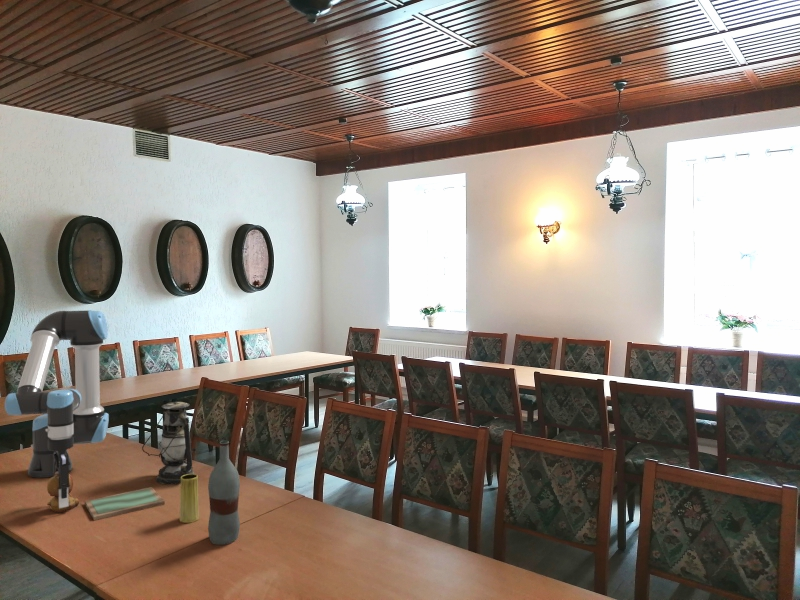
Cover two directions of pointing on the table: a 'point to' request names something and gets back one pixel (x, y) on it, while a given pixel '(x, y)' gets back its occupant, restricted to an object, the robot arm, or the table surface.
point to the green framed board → (123, 503)
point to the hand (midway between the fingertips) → (61, 502)
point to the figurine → (53, 491)
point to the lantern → (174, 444)
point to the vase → (189, 498)
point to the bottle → (224, 500)
